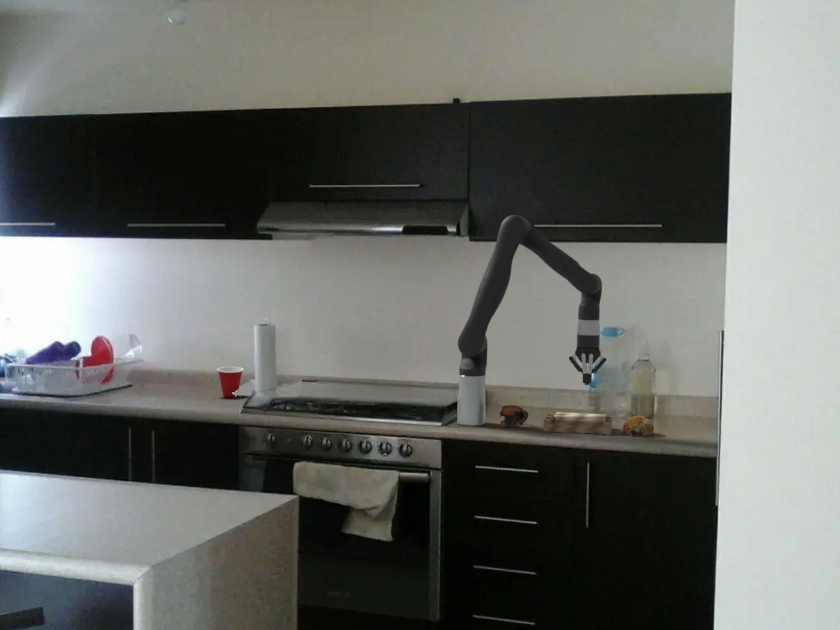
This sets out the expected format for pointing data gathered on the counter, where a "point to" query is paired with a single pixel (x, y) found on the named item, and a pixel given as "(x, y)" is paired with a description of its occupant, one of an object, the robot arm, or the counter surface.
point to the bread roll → (638, 426)
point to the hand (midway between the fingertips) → (587, 384)
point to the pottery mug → (513, 416)
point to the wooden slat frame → (577, 425)
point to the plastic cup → (229, 379)
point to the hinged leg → (583, 417)
